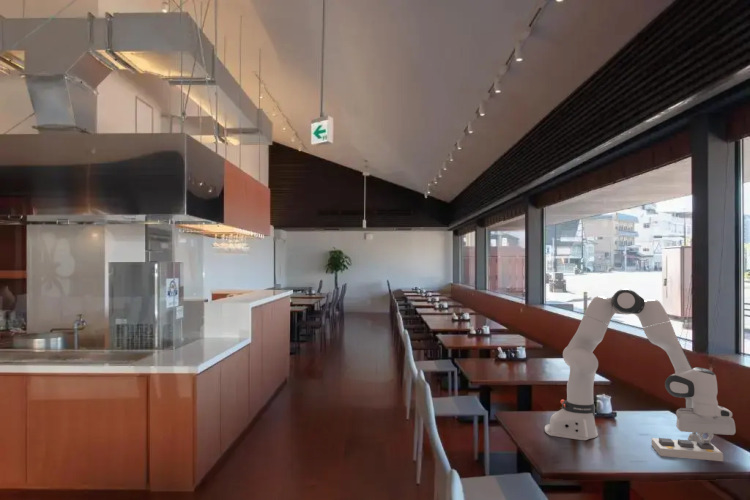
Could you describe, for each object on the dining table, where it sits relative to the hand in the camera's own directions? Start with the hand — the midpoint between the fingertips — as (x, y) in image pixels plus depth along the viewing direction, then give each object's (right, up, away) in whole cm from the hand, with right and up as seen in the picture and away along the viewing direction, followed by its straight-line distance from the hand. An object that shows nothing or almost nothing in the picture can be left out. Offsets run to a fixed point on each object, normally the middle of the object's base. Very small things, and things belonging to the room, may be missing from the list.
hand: (705, 443), depth 200 cm
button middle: (-7, -2, +2) cm, 8 cm away
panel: (-7, -4, +2) cm, 8 cm away
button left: (-14, -2, +3) cm, 14 cm away
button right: (0, -2, 0) cm, 3 cm away
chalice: (+6, -5, +17) cm, 18 cm away
